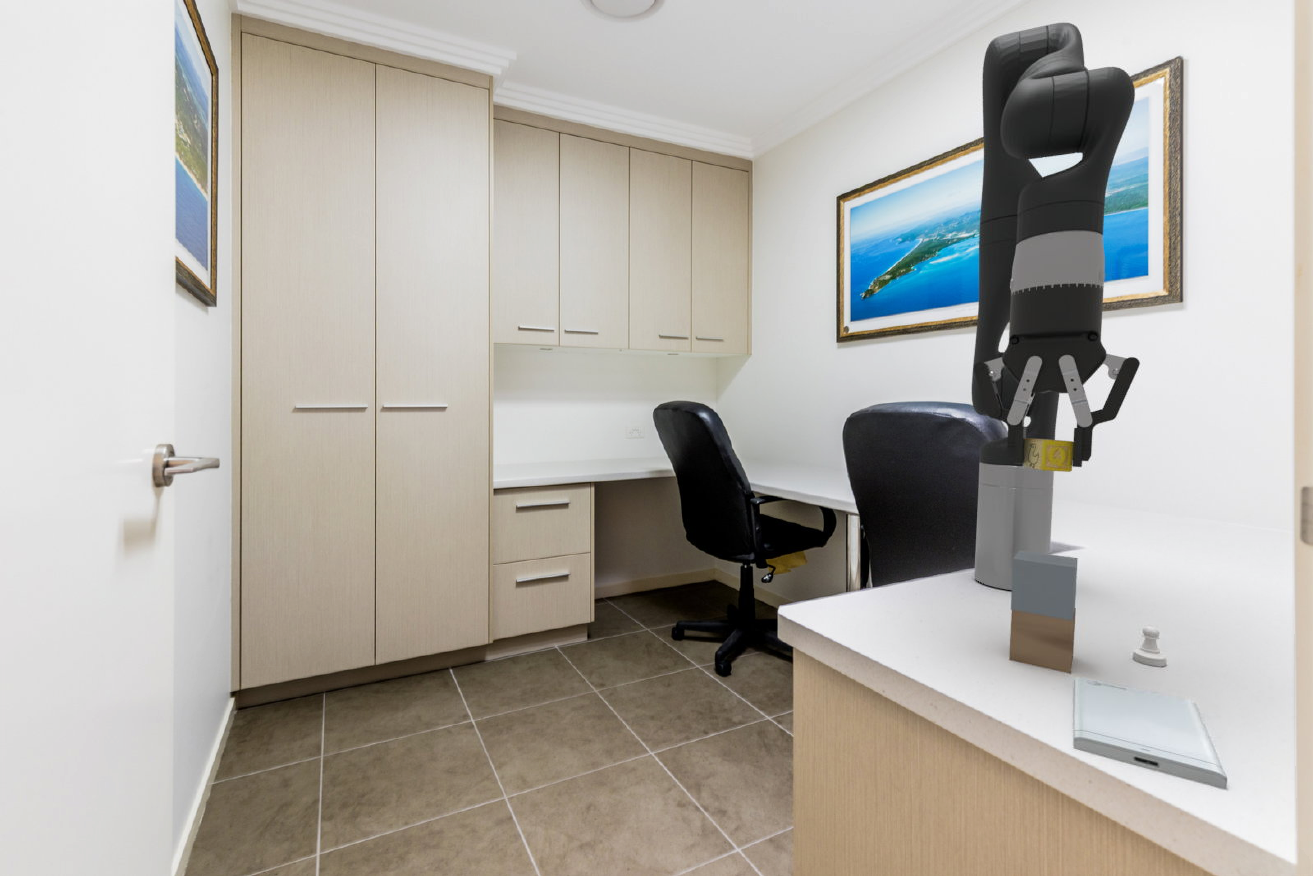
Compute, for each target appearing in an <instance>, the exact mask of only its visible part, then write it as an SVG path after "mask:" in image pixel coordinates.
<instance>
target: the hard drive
mask: <svg viewBox="0 0 1313 876" xmlns="http://www.w3.org/2000/svg"><path fill="white" fill-rule="evenodd" d="M1072 703H1073V707H1072V708H1073V709H1072V710H1073V713H1072V714H1073V715H1072V716H1073V717H1072V718H1073V724H1072V725H1073V726H1072V727H1073V729H1072V730H1073V731H1072V733H1073V736H1072V737H1073V742H1072V743H1073V744H1072V745H1073V749H1075V750H1080V751H1083V752H1087V753H1090V754H1094V755H1098V756H1100V757H1101V756H1102V757H1105V758H1108V759H1113V760H1116V761H1120V762H1124V763H1128V764H1131V765H1134V766H1139V767H1142V768H1146V769H1150V770H1153V771H1156V772H1157V771H1158V772H1161V773H1164V774H1168V775H1172V776H1175V777H1178V778H1183V779H1186V780H1191V781H1194V782H1198V783H1201V784H1205V785H1209V786H1212V787H1216V788H1220V789H1223V790H1227V786H1228V785H1227V784H1228V776H1227V774H1226V773H1225V771H1224V768H1223V764H1222V763H1221V761H1220V758H1219V756H1218V753H1217V752H1216V749H1215V746H1214V744H1213V741H1212V740H1211V739H1212V738H1211V736H1210V735H1209V733H1208V730H1207V728H1206V725H1205V723H1204V721H1203V718H1202V716H1201V713H1200V711H1199V709H1198V707H1197V704H1196V703H1195V702H1193V701H1192V700H1189V699H1185V698H1181V697H1177V696H1171V695H1168V694H1162V693H1157V692H1152V691H1148V690H1143V689H1138V688H1133V687H1129V686H1123V685H1119V684H1113V683H1110V682H1109V683H1108V682H1104V681H1099V680H1095V679H1089V678H1085V677H1074V679H1073V702H1072Z"/></svg>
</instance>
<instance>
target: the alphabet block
mask: <svg viewBox="0 0 1313 876" xmlns="http://www.w3.org/2000/svg"><path fill="white" fill-rule="evenodd" d="M1073 442H1074V441H1071V440H1060V439H1059V440H1058V439H1055V440H1051V439H1032V438H1026V439H1025V442H1024V461H1023V467H1027V468H1033V469H1038V470H1044V471H1054V472H1063V473H1064V472H1065V473H1066V472H1067V473H1070V472H1072V470H1073V467H1072V462H1073Z"/></svg>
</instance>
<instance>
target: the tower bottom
mask: <svg viewBox="0 0 1313 876" xmlns="http://www.w3.org/2000/svg"><path fill="white" fill-rule="evenodd" d="M1076 609H1077V608H1076V607H1075V611H1074V616H1073V621H1071V620H1065V619H1060V618H1054V617H1049V616H1043V615H1038V614H1032V613H1027V612H1022V611H1016V610H1011V618H1010V634H1009V635H1010V637H1009V640H1010V641H1009V654H1008V655H1009V656H1008V657H1009V659H1008V660H1009V661H1011V662H1012V661H1013V662H1016V663H1022V664H1026V665H1030V666H1035V667H1038V668H1039V667H1040V668H1043V669H1047V670H1052V671H1056V672H1061V673H1066V674H1070V675H1072V668H1073V662H1074V649H1075V648H1074V645H1075V629H1076Z"/></svg>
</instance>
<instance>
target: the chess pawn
mask: <svg viewBox="0 0 1313 876" xmlns="http://www.w3.org/2000/svg"><path fill="white" fill-rule="evenodd" d="M1159 636H1160V631H1159V629H1158V628H1157V627H1154V626H1151V625H1147V626H1144V627H1143V628H1142V637H1144V640H1143V643H1142V644H1141V645H1139V648H1135V649H1133V652H1132V658H1133V659H1134V661H1136V662H1137V663H1140V664H1142V665H1146V666H1150V667H1164V666H1167V656H1166V655H1165V654H1163V653H1161V650H1160V648H1159V647H1158V644H1157V640H1159V639H1160V638H1159Z"/></svg>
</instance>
